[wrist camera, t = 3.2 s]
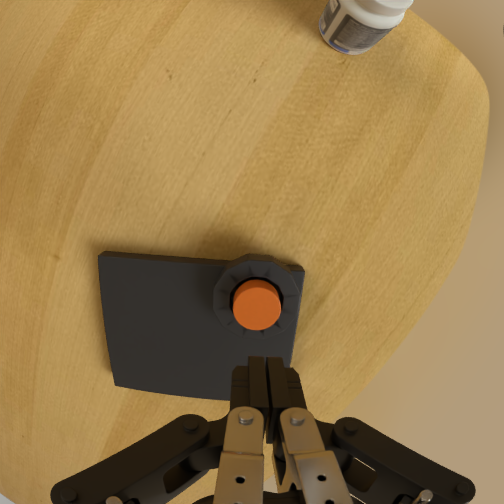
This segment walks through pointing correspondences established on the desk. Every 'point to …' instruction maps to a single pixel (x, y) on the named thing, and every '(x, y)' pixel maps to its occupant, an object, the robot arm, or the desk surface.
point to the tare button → (256, 305)
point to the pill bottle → (359, 22)
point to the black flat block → (190, 320)
